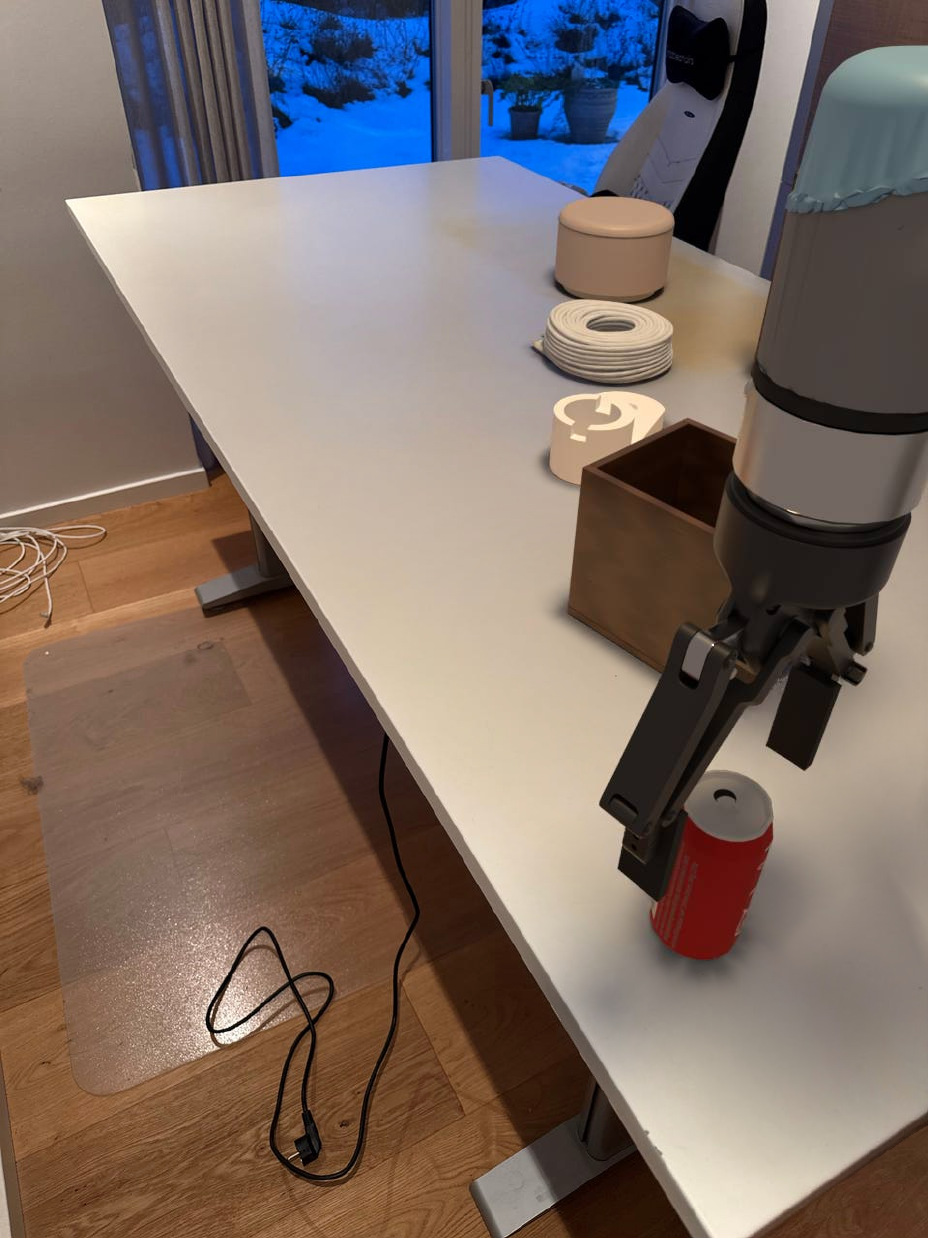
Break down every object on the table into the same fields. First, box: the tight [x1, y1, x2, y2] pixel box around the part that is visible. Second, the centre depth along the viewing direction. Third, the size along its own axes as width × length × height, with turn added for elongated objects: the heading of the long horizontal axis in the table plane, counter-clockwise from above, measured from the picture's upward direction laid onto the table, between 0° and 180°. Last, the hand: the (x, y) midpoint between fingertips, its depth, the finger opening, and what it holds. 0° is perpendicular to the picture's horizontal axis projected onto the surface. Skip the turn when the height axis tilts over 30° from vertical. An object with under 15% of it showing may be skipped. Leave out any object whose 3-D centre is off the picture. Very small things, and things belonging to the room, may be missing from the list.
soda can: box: [649, 769, 775, 961], centre depth 54 cm, size 6×6×12 cm
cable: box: [530, 299, 674, 384], centre depth 125 cm, size 18×18×6 cm
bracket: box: [549, 390, 666, 486], centre depth 105 cm, size 20×9×7 cm, turn 152°
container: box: [554, 196, 676, 303], centre depth 146 cm, size 18×18×12 cm
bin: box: [567, 417, 757, 683], centre depth 77 cm, size 17×14×15 cm
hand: (719, 814), depth 52 cm, fingers open, 13 cm apart
